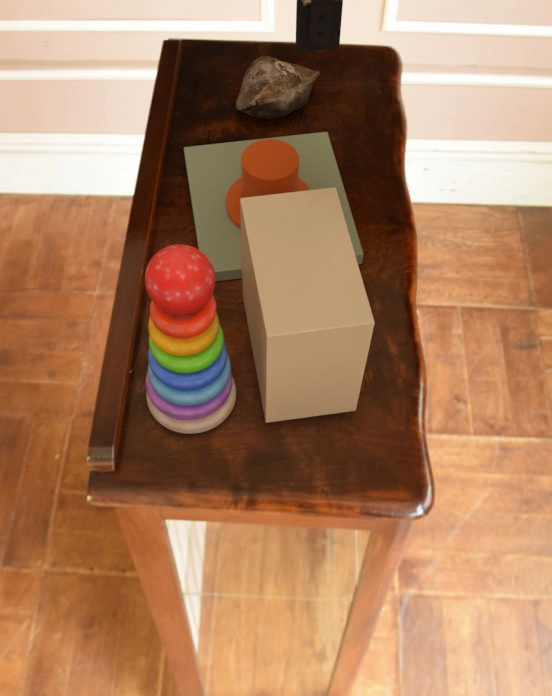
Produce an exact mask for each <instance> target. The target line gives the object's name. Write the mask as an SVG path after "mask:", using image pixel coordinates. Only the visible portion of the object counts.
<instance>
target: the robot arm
mask: <svg viewBox="0 0 552 696" xmlns="http://www.w3.org/2000/svg"><path fill="white" fill-rule="evenodd" d="M343 5H344V0H296V10H295V11H296V14H295V48H296V51H297V52H298V53H310V52H318V51H328V50H335V49H337V48H338V47H339V46H340V43H341V33H342V32H341V31H342V30H341V28H342V16H343Z"/></svg>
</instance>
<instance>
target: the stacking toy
mask: <svg viewBox="0 0 552 696" xmlns="http://www.w3.org/2000/svg"><path fill="white" fill-rule="evenodd" d="M144 285H145V289H146V293H147V294H148V296H149V298H150V300H151V301H150V304H149V317H148V323H147V329H148V334H149V336H148V346H149V348H148V352H147V360H148V365H147V371H146V375H145V390H146V392H145V396H146V397H145V398H146V404H147V408H148V410H149V412H150V414H151V415H152V417H153V418H154V419H155V420H156V422H158V423H159V425H161V426H163V427H164V428H166V429H167V430H170V431H172V432H175V433H180V434H193V435H194V434H201V433H204V432H208V431H210V430H213V429H214V428H216V427H218V426H219V425H221V424H222V423H223V422H224V421H226V419H227V418H228V417H229V416H230V414H231V413H232V411H233V410H234V407H235V403H237V402H236V401H237V397H238V396H237V394H238V391H237V385H236V381H235V379H234V376H233V373H232V364H231V359H230V355H229V353H228V348H227V346H226V342H225V335H224V330H223V328H222V326H221V324H220V320H219V315H218V314H217V301H216V298H215V296H214V295H213V294H214V290H215V287H216V281H215V272H214V269H213V266H212V264H211V262H210V260H209V259H208V258H207V256H206V255H205V254H204V253H202V252H201V251H200V250H198V248H197V247H195V246H192V245H189V244H182V243H177V244H176V243H175V244H171V245H170V244H169V245H167V246H166V247H163V248H161V249H160V250H158V251H157V252H156V253H154V255H153V256H152V257H151V258H150V260H149V262H148V263H147V265H146V269H145V274H144Z"/></svg>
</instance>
